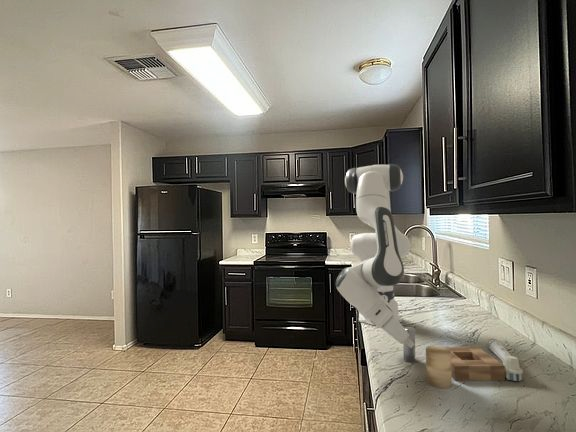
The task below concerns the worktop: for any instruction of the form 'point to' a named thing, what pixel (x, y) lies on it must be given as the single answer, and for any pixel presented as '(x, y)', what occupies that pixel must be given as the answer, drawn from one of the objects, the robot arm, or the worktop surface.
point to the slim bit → (409, 352)
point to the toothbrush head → (506, 360)
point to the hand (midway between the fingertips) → (407, 340)
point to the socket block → (474, 365)
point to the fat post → (438, 366)
